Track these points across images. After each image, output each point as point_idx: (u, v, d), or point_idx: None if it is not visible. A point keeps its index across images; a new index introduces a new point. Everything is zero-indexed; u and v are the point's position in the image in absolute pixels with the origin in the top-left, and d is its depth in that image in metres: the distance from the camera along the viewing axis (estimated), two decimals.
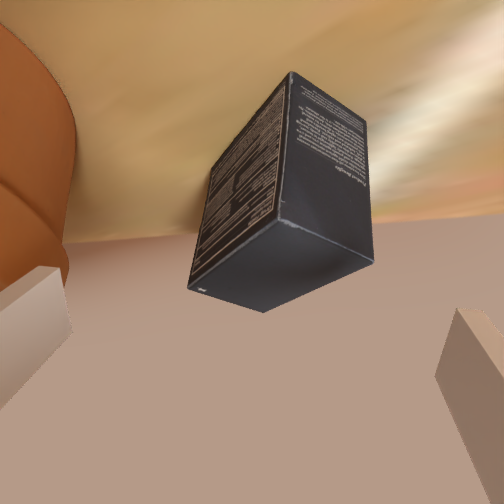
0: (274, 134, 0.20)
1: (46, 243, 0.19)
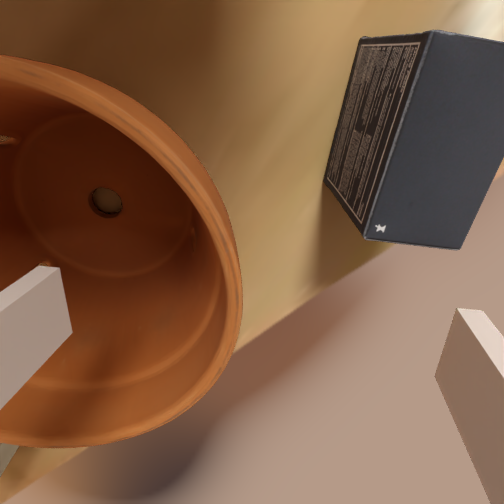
0: (376, 55, 0.22)
1: (219, 196, 0.18)
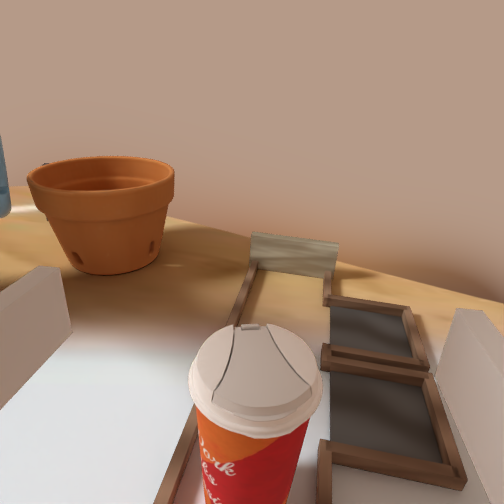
0: None
1: None
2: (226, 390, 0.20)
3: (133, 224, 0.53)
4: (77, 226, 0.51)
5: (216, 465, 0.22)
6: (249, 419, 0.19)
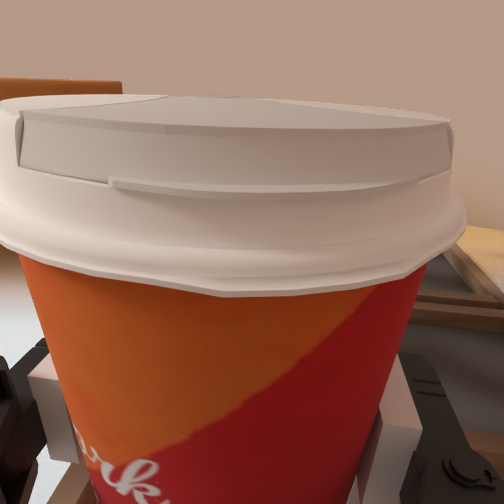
0: None
1: None
2: (88, 111, 0.04)
3: None
4: None
5: (107, 475, 0.06)
6: (190, 191, 0.03)
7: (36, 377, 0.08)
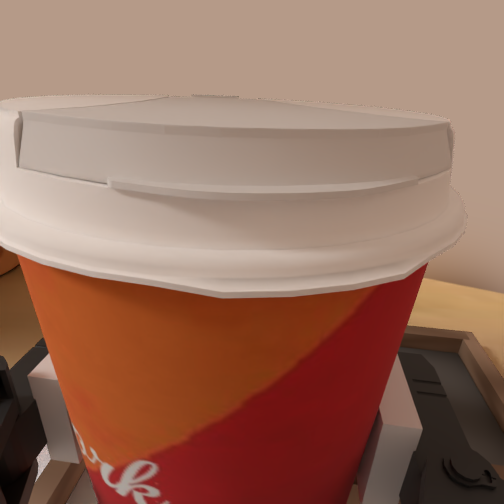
0: None
1: None
2: (87, 111, 0.04)
3: None
4: None
5: (107, 476, 0.06)
6: (190, 192, 0.03)
7: (36, 377, 0.08)
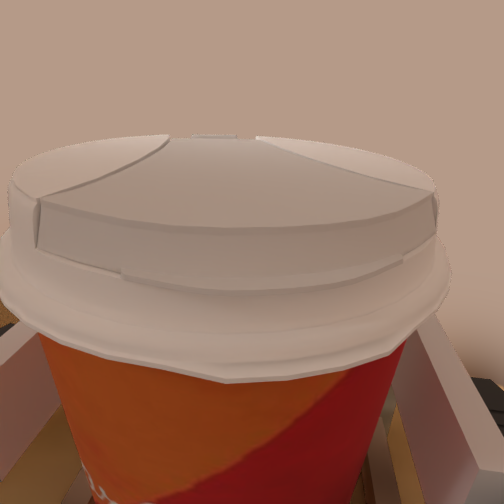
0: None
1: None
2: (100, 195, 0.05)
3: None
4: None
5: None
6: (196, 288, 0.04)
7: None
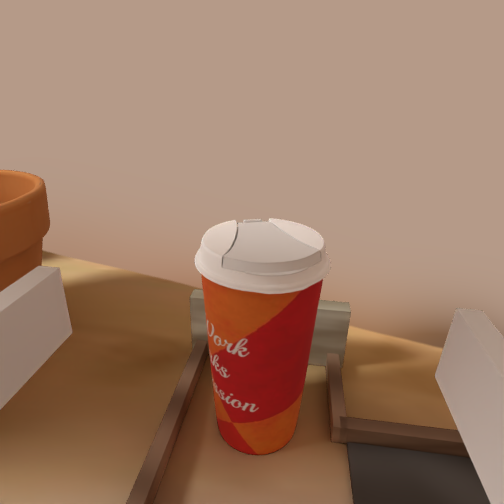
0: None
1: None
2: (236, 254, 0.20)
3: None
4: None
5: (229, 348, 0.22)
6: (261, 275, 0.19)
7: None
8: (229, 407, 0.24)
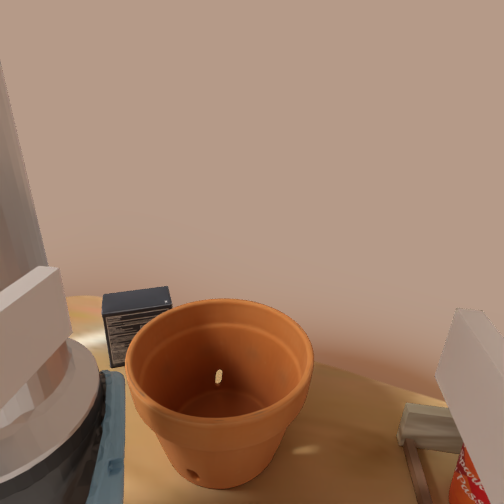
0: (114, 345, 0.57)
1: None
2: None
3: None
4: (207, 452, 0.36)
5: None
6: None
7: None
8: None
